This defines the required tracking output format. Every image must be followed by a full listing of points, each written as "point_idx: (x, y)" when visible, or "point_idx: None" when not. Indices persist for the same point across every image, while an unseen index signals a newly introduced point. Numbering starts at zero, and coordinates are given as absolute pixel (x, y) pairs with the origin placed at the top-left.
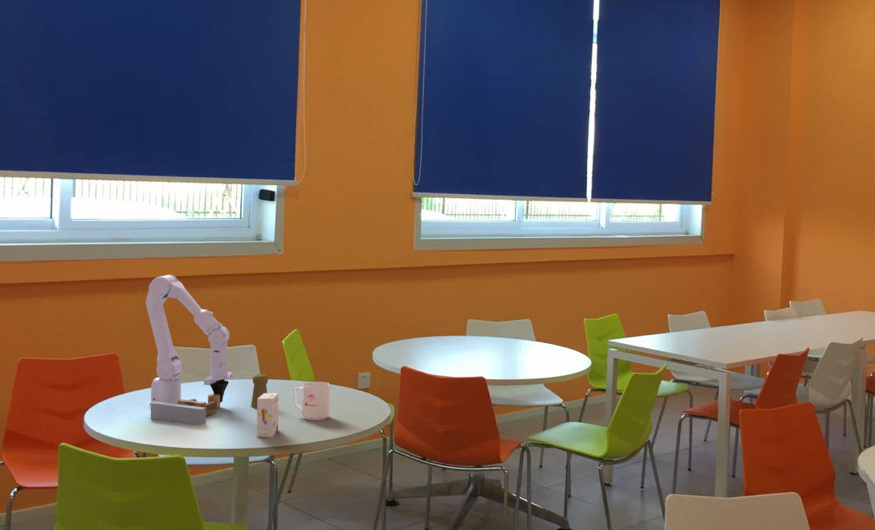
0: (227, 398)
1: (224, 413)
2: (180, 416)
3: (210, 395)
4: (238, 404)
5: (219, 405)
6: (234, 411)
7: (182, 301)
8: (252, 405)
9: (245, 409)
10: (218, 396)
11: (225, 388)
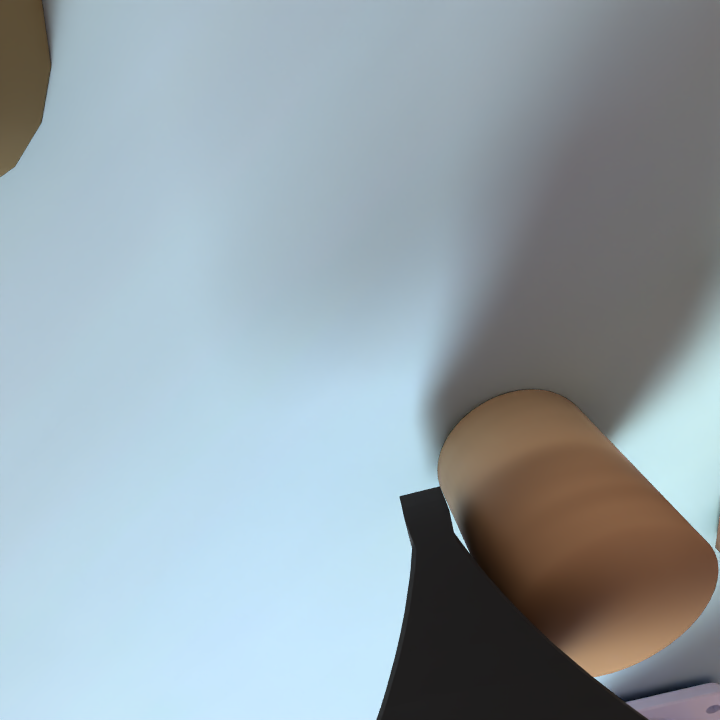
0: (44, 683)
1: (717, 113)
2: None
3: (652, 623)
4: (120, 406)
5: (517, 420)
6: (512, 88)
7: None
8: (26, 62)
9: (264, 41)
10: (619, 521)
11: (401, 692)
